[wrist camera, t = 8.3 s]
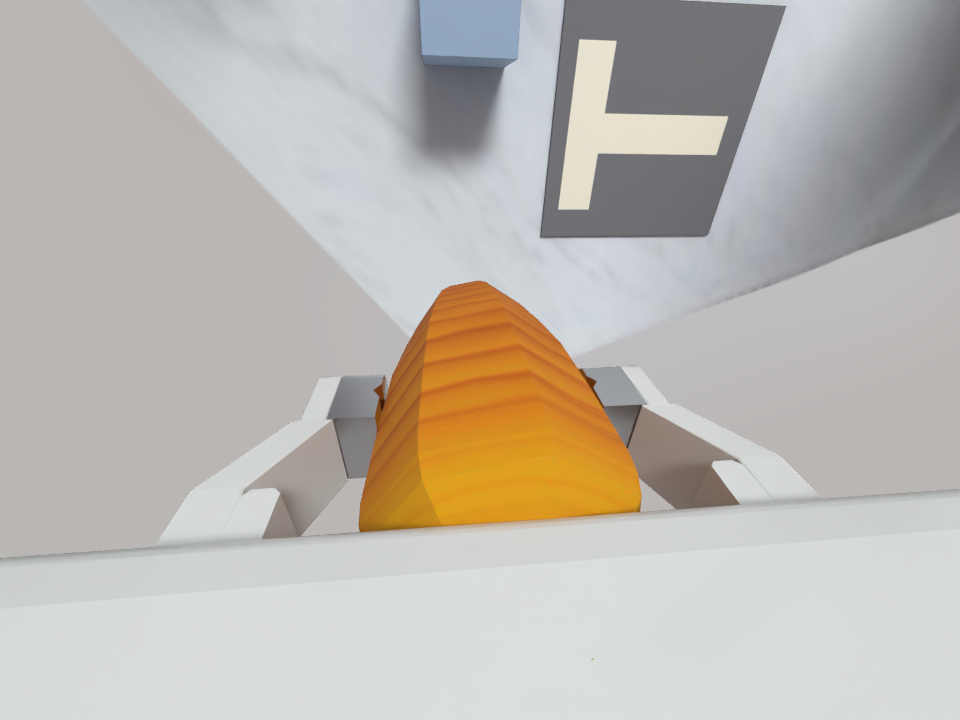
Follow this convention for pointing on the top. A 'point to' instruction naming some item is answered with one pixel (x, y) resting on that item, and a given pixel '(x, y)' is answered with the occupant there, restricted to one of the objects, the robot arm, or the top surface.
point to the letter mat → (651, 113)
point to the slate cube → (470, 32)
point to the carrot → (491, 425)
